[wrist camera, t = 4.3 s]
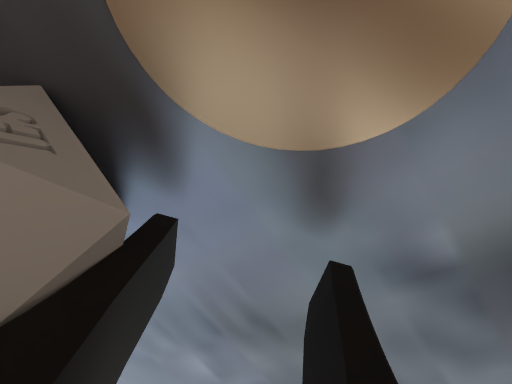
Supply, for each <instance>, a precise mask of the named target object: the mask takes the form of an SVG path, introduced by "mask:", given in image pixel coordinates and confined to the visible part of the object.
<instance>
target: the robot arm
mask: <svg viewBox="0 0 512 384" xmlns="http://www.w3.org/2000/svg"><path fill="white" fill-rule="evenodd" d="M177 226H178V219H176V218H173V217H169V216H165V215H162V214H158V213H157V214H155V215H153V216H152V217H151V218H150V219H149V220H148V221H147V222H146V223H144V224H143V225H142V226H141V227H140V228H139V229H138V230H137V231H135V232H134V233H133V234H132V235H131V236H130V237H129V238H127V239H126V240H125V241H124V243H123V245H122V246H120V247H119V248H117V249H116V250H115V251H113V252H112V253H110V254H109V255H108V256H106V257H105V258H104V259H102V260H101V261H100V262H98V263H97V264H95V265H94V266H93V267H91V268H90V269H88V270H87V271H86V272H84V273H83V274H81V275H80V276H79V277H77V278H76V279H74V280H73V281H72V282H70V283H69V284H67V285H66V286H65V287H63V288H62V289H60V290H59V291H57V292H56V293H54V294H53V295H51V296H50V297H48V298H47V299H45V300H44V301H42V302H40V303H39V304H37V305H36V306H34V307H32V308H31V309H29V310H28V311H26V312H24V313H23V314H21V315H19V316H18V317H16V318H14V319H12V320H11V321H9V322H7V323H5V324H4V325H2V326H0V384H116V383H117V381H118V379H119V377H120V375H121V373H122V371H123V369H124V367H125V365H126V363H127V361H128V359H129V358H130V356H131V354H132V352H133V350H134V348H135V346H136V345H137V343H138V341H139V339H140V337H141V335H142V333H143V332H144V330H145V328H146V326H147V324H148V322H149V320H150V318H151V317H152V315H153V313H154V311H155V309H156V307H157V305H158V303H159V301H160V300H161V298H162V295H163V293H164V290H165V288H166V285H167V283H168V280H169V278H170V275H171V273H172V270H173V268H174V262H175V250H176V238H177ZM303 384H398V382H397V380H396V378H395V376H394V374H393V372H392V370H391V367H390V365H389V363H388V361H387V359H386V356H385V354H384V352H383V349H382V347H381V345H380V342H379V340H378V337H377V335H376V332H375V330H374V327H373V325H372V322H371V320H370V317H369V315H368V312H367V309H366V306H365V304H364V301H363V298H362V295H361V292H360V289H359V286H358V283H357V280H356V277H355V274H354V270H353V269H352V267H351V266H349V265H345V264H341V263H338V262H334V261H329V263H328V265H327V267H326V269H325V271H324V273H323V275H322V278H321V280H320V282H319V284H318V286H317V288H316V290H315V292H314V294H313V296H312V298H311V301H310V303H309V308H308V314H307V321H306V328H305V335H304V356H303Z"/></svg>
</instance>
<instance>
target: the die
mask: <svg viewBox="0 0 512 384" xmlns="http://www.w3.org/2000/svg"><path fill="white" fill-rule="evenodd" d="M129 216H130V212H129V211H128V210H127V208H126V207H125V205H124V204H123V202H122V201H121V200H120V198H119V197H118V195H117V194H116V192H115V191H114V190H113V188H112V187H111V185H110V184H109V182H108V181H107V180H106V178H105V177H104V175H103V174H102V172H101V171H100V170H99V168H98V167H97V165H96V164H95V162H94V161H93V160H92V158H91V157H90V155H89V154H88V152H87V151H86V150H85V148H84V147H83V145H82V144H81V142H80V141H79V140H78V138H77V137H76V135H75V134H74V132H73V131H72V130H71V128H70V127H69V125H68V124H67V122H66V121H65V120H64V118H63V117H62V115H61V114H60V112H59V111H58V110H57V108H56V107H55V105H54V104H53V102H52V101H51V100H50V98H49V97H48V95H47V94H46V92H45V91H44V90H43V88H42V87H41V85H33V86H0V326H2V325H4V324H5V323H7V322H9V321H11V320H12V319H14V318H16V317H18V316H19V315H21V314H23V313H24V312H26V311H28V310H29V309H31V308H32V307H34V306H36V305H37V304H39V303H40V302H42V301H44V300H45V299H47V298H48V297H50V296H51V295H53V294H54V293H56V292H57V291H59V290H60V289H62V288H63V287H65V286H66V285H67V284H69V283H70V282H72V281H73V280H74V279H76V278H77V277H79V276H80V275H81V274H83V273H84V272H86V271H87V270H88V269H90V268H91V267H93V266H94V265H95V264H97V263H98V262H100V261H101V260H102V259H104V258H105V257H106V256H108V255H109V254H110V253H112V252H113V251H115V250H116V249H117V248H119V247H120V246H122V245H123V243H124V238H125V234H126V229H127V225H128V221H129Z"/></svg>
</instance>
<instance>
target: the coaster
mask: <svg viewBox="0 0 512 384" xmlns="http://www.w3.org/2000/svg"><path fill="white" fill-rule="evenodd" d="M105 1H106V3H107V5H108V7H109V10H110V12H111V14H112V16H113V19H114V21H115V23H116V25H117V27H118V29H119V31H120V33H121V34H122V36H123V38H124V40H125V41H126V43H127V45H128V47H129V48H130V50H131V52H132V53H133V54H134V56H135V57H136V59H137V60H138V61H139V63H140V64H141V66H142V67H143V68H144V70H145V71H146V72H147V73H148V75H149V76H150V77H151V78H152V79H153V80H154V82H155V83H156V84H157V85H158V86H159V87H160V88H161V89H162V90H163V91H164V92H165V93H166V94H167V95H168V96H169V97H170V98H171V99H172V100H173V101H174V102H176V103H177V104H178V105H179V106H180V107H182V108H183V109H184V110H186V111H187V112H188V113H190V114H191V115H192V116H194V117H195V118H196V119H198V120H200V121H201V122H203V123H205V124H206V125H208V126H210V127H212V128H213V129H215V130H217V131H219V132H222V133H224V134H226V135H228V136H230V137H233V138H235V139H238V140H241V141H244V142H247V143H250V144H254V145H258V146H263V147H268V148H273V149H281V150H293V151H309V150H324V149H331V148H338V147H343V146H347V145H351V144H354V143H358V142H362V141H365V140H368V139H370V138H373V137H375V136H378V135H381V134H383V133H386V132H388V131H390V130H392V129H394V128H396V127H398V126H399V125H401V124H403V123H405V122H407V121H409V120H411V119H412V118H414V117H415V116H417V115H418V114H420V113H421V112H423V111H424V110H426V109H427V108H429V107H430V106H432V105H433V104H434V103H435V102H437V101H438V100H439V99H440V98H441V97H443V96H444V95H445V94H446V93H447V92H449V91H450V90H451V89H452V88H453V87H454V86H455V85H456V84H457V83H458V82H459V81H460V80H461V79H462V78H463V77H464V76H465V75H466V74H467V73H468V72H469V71H470V70H471V69H472V68H473V67H474V66H475V65H476V64H477V62H478V61H479V60H480V59H481V57H482V56H483V55H484V54H485V52H486V51H487V50H488V49H489V47H490V46H491V45H492V44H493V42H494V41H495V40H496V38H497V37H498V35H499V34H500V32H501V31H502V29H503V27H504V26H505V24H506V23H507V21H508V20H509V18H510V17H511V15H512V0H105Z"/></svg>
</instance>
